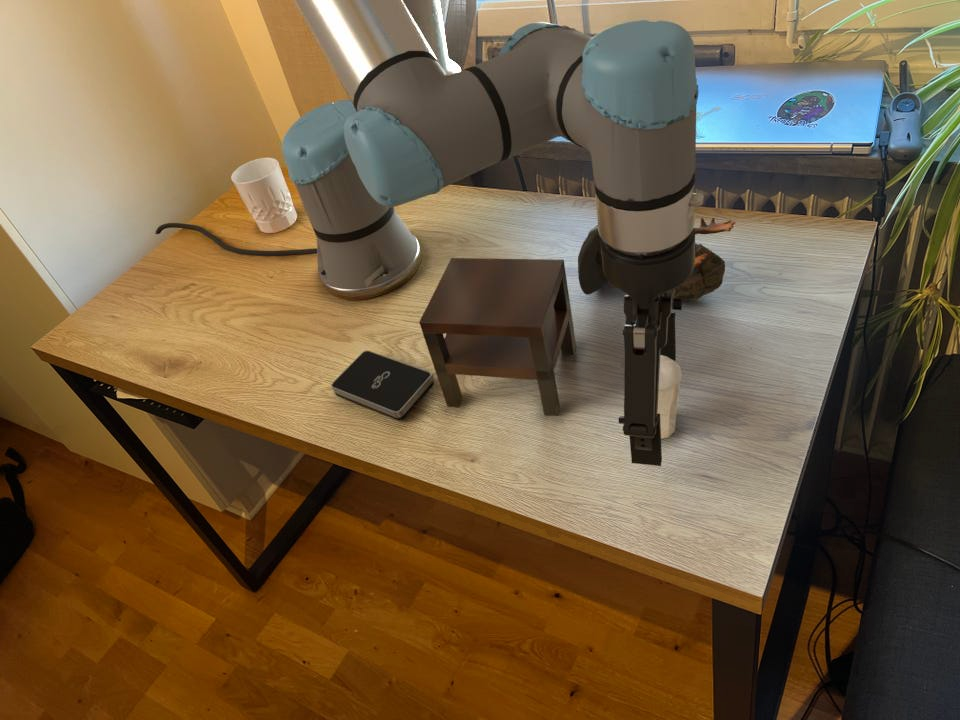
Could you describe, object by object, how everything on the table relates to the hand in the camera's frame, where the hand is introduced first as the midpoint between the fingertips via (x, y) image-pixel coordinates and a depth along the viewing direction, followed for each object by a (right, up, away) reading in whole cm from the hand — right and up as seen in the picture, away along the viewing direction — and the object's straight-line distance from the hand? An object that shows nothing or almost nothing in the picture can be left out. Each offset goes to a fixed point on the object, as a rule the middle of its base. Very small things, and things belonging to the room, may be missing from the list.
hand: (655, 408), depth 72 cm
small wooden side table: (-14, +3, +12) cm, 18 cm away
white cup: (-52, +28, +50) cm, 77 cm away
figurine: (+4, +14, +19) cm, 24 cm away
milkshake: (+1, -2, +2) cm, 3 cm away
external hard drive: (-29, +1, +14) cm, 32 cm away
